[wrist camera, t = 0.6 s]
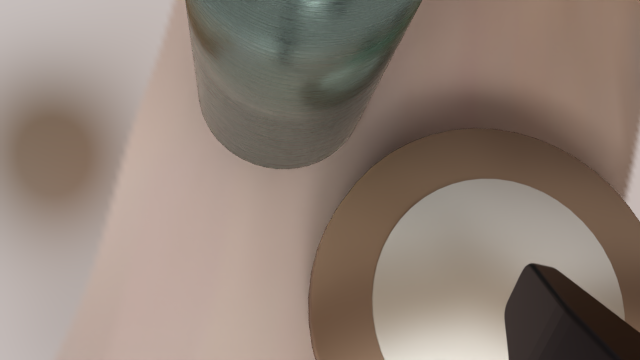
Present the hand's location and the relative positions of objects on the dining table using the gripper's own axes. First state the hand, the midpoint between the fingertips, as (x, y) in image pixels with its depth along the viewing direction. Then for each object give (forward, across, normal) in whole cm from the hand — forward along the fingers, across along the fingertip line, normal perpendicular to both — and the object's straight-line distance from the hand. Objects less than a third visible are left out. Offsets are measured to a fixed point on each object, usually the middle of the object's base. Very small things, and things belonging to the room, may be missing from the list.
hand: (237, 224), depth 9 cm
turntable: (+10, -9, +8) cm, 15 cm away
